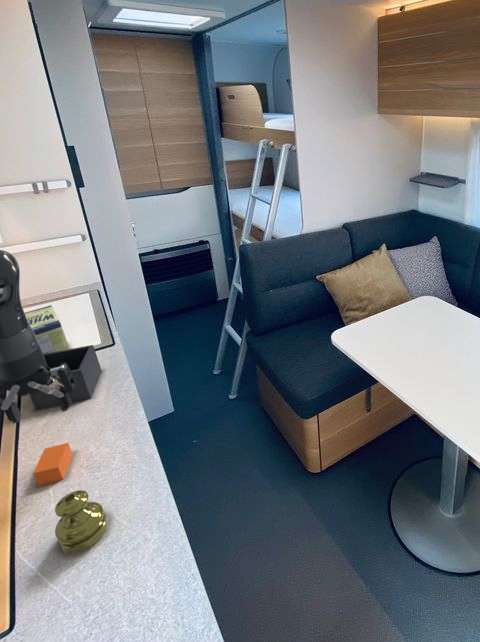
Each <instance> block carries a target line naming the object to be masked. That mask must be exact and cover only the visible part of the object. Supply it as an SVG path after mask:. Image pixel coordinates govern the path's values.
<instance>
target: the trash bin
mask: <svg viewBox="0 0 480 642" xmlns="http://www.w3.org/2000/svg"><path fill="white" fill-rule="evenodd" d="M43 355H44V358H45V360H46V364H47V366H48V367H50V368H51V369H52V368H56V367H60V365H61V364H62V363H66V364H67V365H68V367H69V369H70V371H71V373H72V375H73V377H74V380H75V382H76V385H75V387H74V390H73V392H71V393H68V394H69V397H70V399H71V404H72V403H76V402H81V401H85V400H91V399H92V397H93V395H94V392H95V390H96V387H97V385H98V383H99V379H100V377H101V375H102V372H103V370H102V366H101V364H100V361H99V358H98V355H97V353H96V350H95V346H94V344H91V345H84V346H79V347H73V348H70V349H68V350H62V351H57V352H52V353H46V354H43ZM50 377H52V378H54V379H56V380H58V382H59V383H61V384H62V382H61V380H60V378H57V377H56V376H55V375H51V376H50ZM46 385H47V386H49V384H48V383H47V384H46ZM28 395H29V398H30V400H31V402H32V405H33V407H34V409H35V411H40V410H45V409H49V408H55V407H58V406H59V407H60V404H59V402H58V399H57V398H58V397H57V396H55V395H52V394H46V393H44V392H42V391H40V392H39V393H30V394H28Z"/></svg>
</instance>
